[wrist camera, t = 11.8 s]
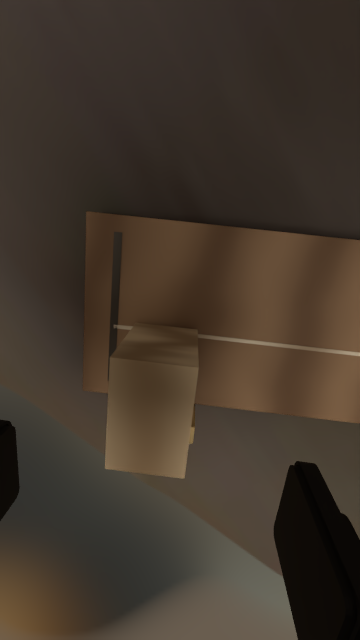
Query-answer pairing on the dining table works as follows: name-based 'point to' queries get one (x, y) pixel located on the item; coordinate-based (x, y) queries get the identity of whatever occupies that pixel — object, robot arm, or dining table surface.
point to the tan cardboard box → (152, 400)
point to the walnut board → (231, 310)
